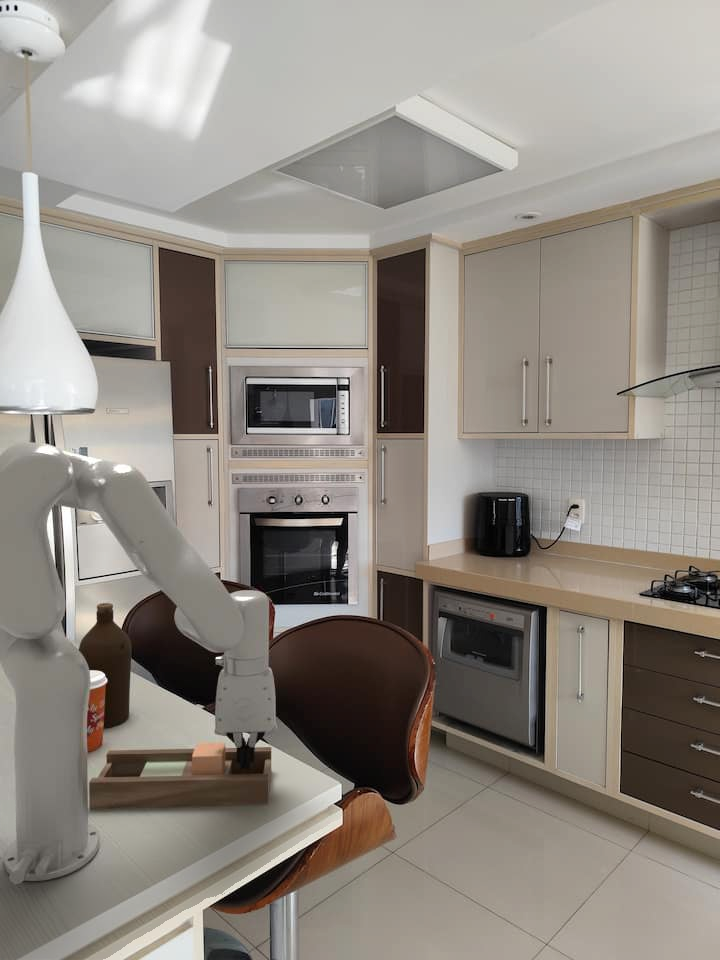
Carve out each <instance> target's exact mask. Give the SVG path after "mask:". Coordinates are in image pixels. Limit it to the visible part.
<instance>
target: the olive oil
mask: <svg viewBox="0 0 720 960" xmlns="http://www.w3.org/2000/svg"><path fill="white" fill-rule="evenodd" d="M96 609H97V610H96V622H95V624H94V625H93V626H92V628H90V629H89V630H88V632H87V633H86V634H85V635H84V636H83V637H82V639H81V640H80V644H79V646H78V650H79V651H80V652H81V653H82V655H83V656H84V658H85V660H86V662H87V664H88V667H89V670H95V671H101V672H103V673H104V674H105V677H106V678H107V683H106V687H105V707H104V726H103V729H107V728H108V729H109V728H113V727H117V726H119V725H122V724H123V723H125V722H126V721H127V720H128V719H129V717H130V692H131V691H130V690H131V672H132V671H131V670H132V669H131V667H132V655H133V654H132V649H133V647H132V641H131V639H130V637H129V634H127V632H125V631H124V630H123V628H121V626H120V625H118V624H117V623H116V622H115V621H114V610H113V609H114V604H113V603H109V602H105V603H104V602H102V603H99V604H97V605H96Z"/></svg>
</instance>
